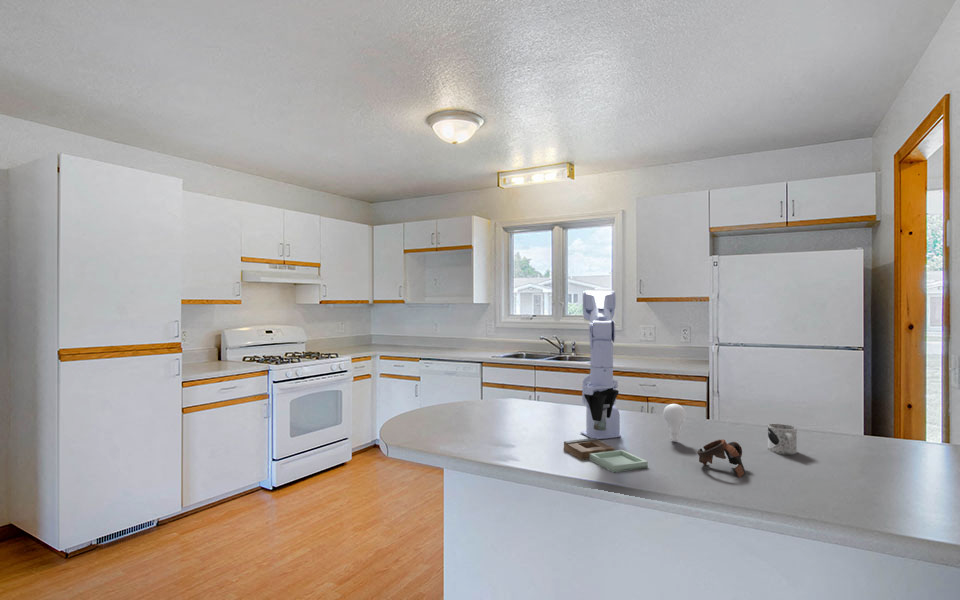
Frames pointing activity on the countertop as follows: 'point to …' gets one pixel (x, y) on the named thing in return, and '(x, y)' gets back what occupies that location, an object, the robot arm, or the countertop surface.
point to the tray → (618, 460)
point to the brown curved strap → (723, 454)
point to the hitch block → (586, 447)
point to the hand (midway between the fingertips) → (601, 418)
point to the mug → (782, 439)
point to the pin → (602, 424)
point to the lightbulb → (674, 420)
